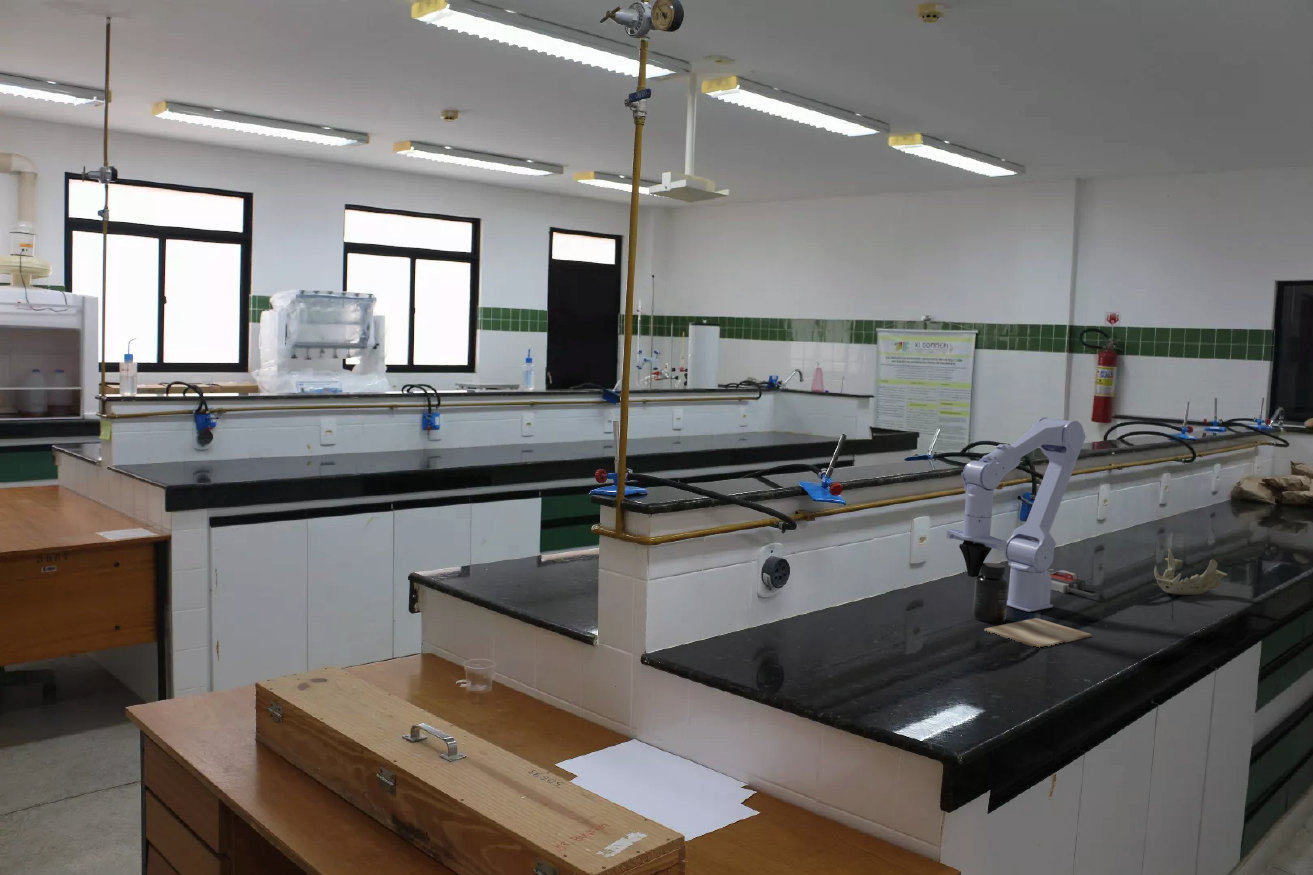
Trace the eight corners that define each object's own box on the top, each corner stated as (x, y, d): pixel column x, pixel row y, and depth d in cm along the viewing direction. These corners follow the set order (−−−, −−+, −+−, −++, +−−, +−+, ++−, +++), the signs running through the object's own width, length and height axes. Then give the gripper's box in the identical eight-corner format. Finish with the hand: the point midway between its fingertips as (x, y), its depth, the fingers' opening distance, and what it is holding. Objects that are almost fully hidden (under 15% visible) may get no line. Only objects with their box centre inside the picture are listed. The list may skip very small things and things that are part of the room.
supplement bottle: (1001, 615, 219) (1005, 562, 218) (1008, 624, 212) (1013, 569, 211) (969, 613, 220) (973, 560, 219) (976, 622, 213) (980, 567, 212)
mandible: (1195, 605, 237) (1200, 564, 236) (1130, 591, 248) (1134, 552, 247) (1227, 595, 249) (1231, 556, 248) (1164, 581, 261) (1167, 544, 260)
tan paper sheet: (1035, 620, 217) (1036, 617, 217) (1090, 636, 206) (1091, 633, 206) (984, 630, 206) (984, 628, 206) (1039, 648, 196) (1039, 645, 196)
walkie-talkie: (1021, 583, 253) (1092, 602, 236) (1022, 566, 252) (1094, 584, 236) (1042, 579, 258) (1113, 598, 241) (1043, 563, 257) (1115, 580, 241)
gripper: (939, 511, 221) (935, 570, 223) (994, 522, 210) (989, 585, 211) (960, 509, 226) (955, 567, 227) (1014, 520, 214) (1009, 582, 215)
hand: (973, 576), depth 219 cm, fingers closed
